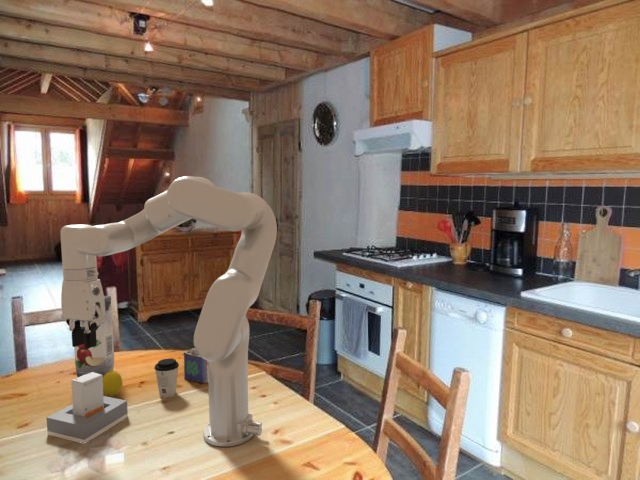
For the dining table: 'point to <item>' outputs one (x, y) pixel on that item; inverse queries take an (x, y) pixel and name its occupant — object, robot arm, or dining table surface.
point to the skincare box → (87, 394)
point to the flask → (195, 367)
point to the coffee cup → (167, 377)
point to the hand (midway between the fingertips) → (84, 345)
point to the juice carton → (97, 348)
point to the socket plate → (86, 421)
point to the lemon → (112, 383)
